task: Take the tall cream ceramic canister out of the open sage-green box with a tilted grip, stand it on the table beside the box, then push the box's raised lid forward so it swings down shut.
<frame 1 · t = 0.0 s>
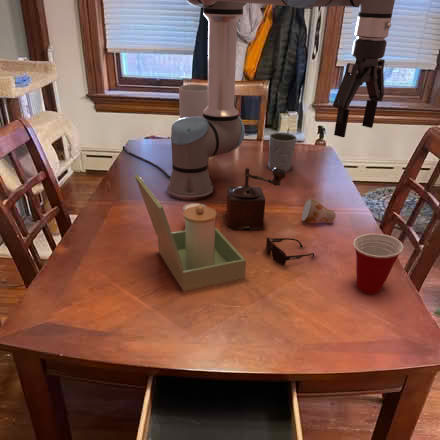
hand: (353, 131, 120), 28 cm above the table, tool pointing down, fingers open, 13 cm apart
sunglasses: (289, 257, 122), on the table
canister: (200, 264, 115), point 1 cm above the table, touching box
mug: (317, 222, 139), on the table
cylinder vase: (195, 153, 191), on the table
brown manual coffee grinder: (252, 223, 138), on the table
box lid: (159, 221, 105), point 14 cm above the table, hinge at 105.1°
grey pot: (279, 168, 178), on the table
box: (200, 267, 116), on the table
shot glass: (195, 230, 133), on the table
plastic cup: (367, 288, 110), on the table
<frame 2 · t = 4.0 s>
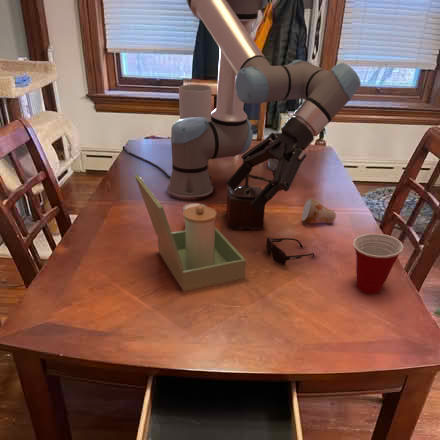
hand: (241, 197, 110), 17 cm above the table, tool tilted 45°, fingers open, 13 cm apart
nothing on the table moved.
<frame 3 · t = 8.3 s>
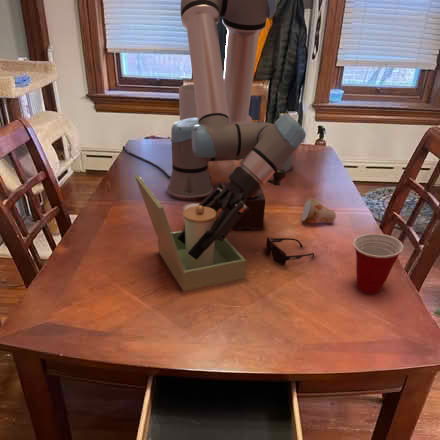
hand: (186, 248, 111), 6 cm above the table, tool tilted 45°, fingers closed on canister, 7 cm apart
canister: (200, 264, 115), point 1 cm above the table, touching box, gripper
everything else where it was.
when the fingers open (5 cm above the table, at t = 17.7 s): canister stays where it is, on the table.
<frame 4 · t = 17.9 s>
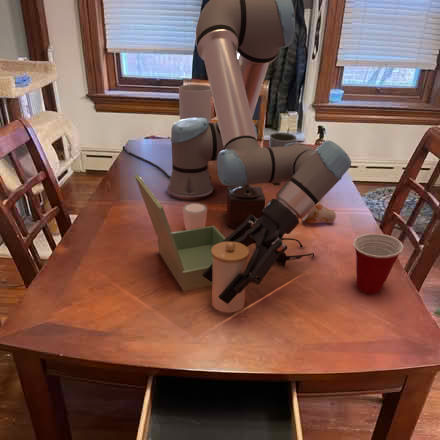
hand: (214, 289, 99), 5 cm above the table, tool tilted 45°, fingers open, 8 cm apart
canister: (227, 305, 103), on the table
everything else where it was.
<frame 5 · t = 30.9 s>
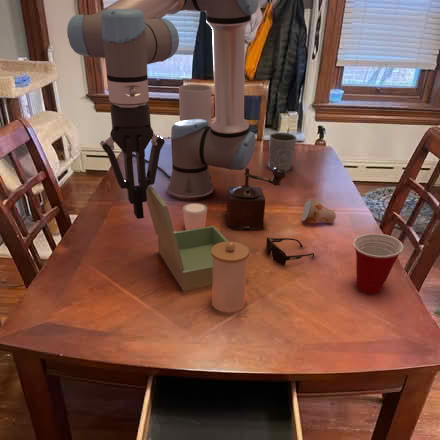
hand: (139, 215, 102), 16 cm above the table, tool pointing down, fingers closed
box lid: (160, 221, 105), point 14 cm above the table, hinge at 101.8°, touching gripper
everything else where it was.
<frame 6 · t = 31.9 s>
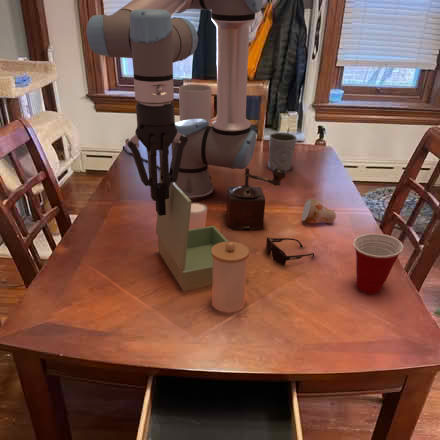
hand: (160, 212, 104), 16 cm above the table, tool pointing down, fingers closed
box lid: (171, 219, 105), point 14 cm above the table, hinge at 83.4°, touching gripper
everything else where it was.
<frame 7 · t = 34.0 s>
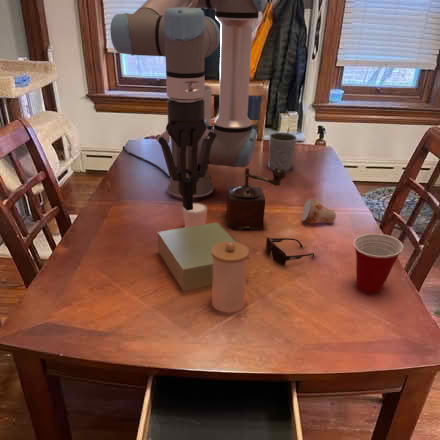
hand: (187, 207, 106), 17 cm above the table, tool pointing down, fingers closed
box lid: (201, 245, 113), point 6 cm above the table, hinge at -0.1°
everything else where it was.
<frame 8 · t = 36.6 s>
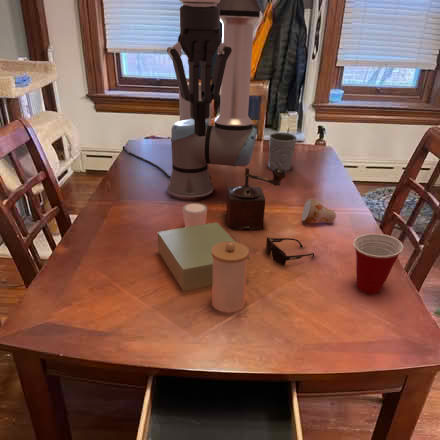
hand: (199, 134, 99), 32 cm above the table, tool pointing down, fingers closed
nothing on the table moved.
at the end: canister inside the target area (0.0 cm from its centre), on the table; canister tilted 0°; box lid at +0° (first picture: +105°) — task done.
